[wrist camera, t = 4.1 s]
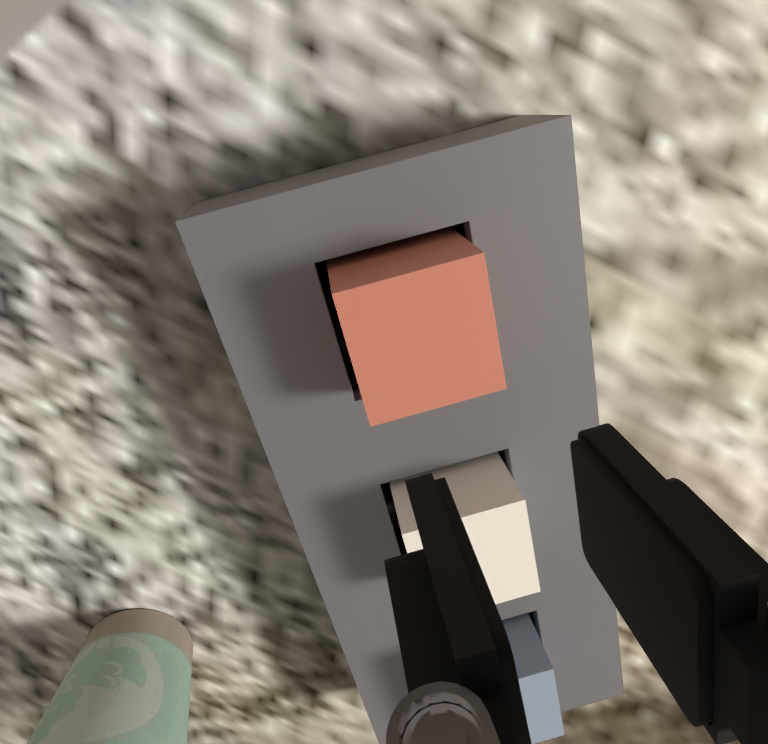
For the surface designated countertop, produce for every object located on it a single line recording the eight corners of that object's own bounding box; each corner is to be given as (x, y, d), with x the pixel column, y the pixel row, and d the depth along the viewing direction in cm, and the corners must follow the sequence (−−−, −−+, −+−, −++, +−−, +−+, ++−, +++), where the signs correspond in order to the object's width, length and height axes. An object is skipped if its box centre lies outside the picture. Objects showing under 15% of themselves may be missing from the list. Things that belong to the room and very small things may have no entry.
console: (520, 115, 24) (570, 114, 20) (584, 624, 38) (623, 693, 33) (198, 201, 24) (175, 221, 20) (376, 683, 37) (386, 762, 33)
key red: (447, 225, 23) (484, 252, 18) (469, 339, 25) (506, 388, 20) (325, 258, 23) (331, 293, 18) (357, 369, 25) (370, 426, 20)
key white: (487, 435, 27) (525, 499, 23) (503, 517, 29) (540, 591, 25) (384, 464, 27) (401, 534, 22) (407, 544, 29) (427, 623, 25)
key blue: (516, 588, 31) (553, 669, 27) (528, 650, 33) (564, 734, 29) (427, 614, 31) (449, 698, 27) (445, 674, 33) (468, 763, 29)
